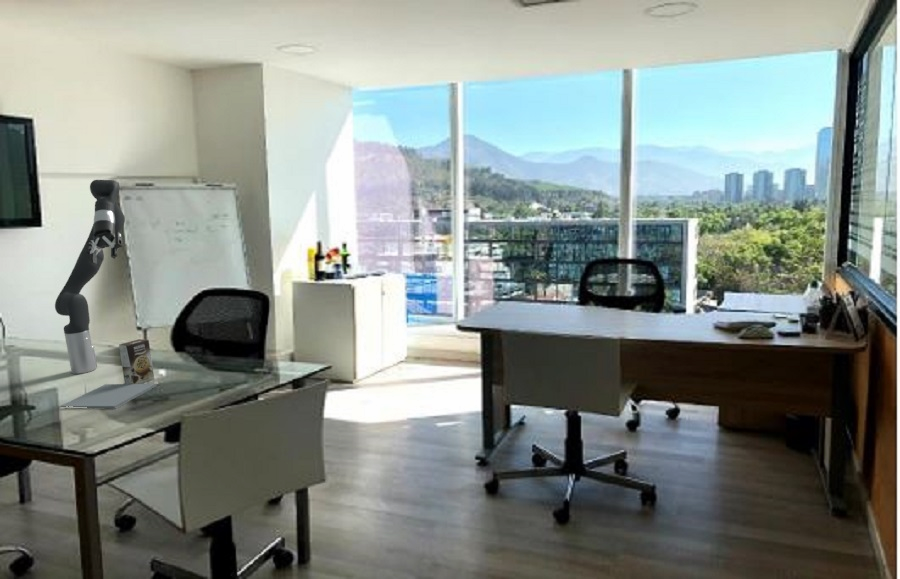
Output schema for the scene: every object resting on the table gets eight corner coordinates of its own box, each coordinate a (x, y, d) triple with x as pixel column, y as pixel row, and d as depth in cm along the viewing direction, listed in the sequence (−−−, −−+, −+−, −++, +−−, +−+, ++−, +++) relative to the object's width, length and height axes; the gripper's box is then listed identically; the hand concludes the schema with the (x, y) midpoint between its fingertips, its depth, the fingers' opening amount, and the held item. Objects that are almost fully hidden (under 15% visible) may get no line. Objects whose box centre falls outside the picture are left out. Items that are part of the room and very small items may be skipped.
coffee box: (134, 386, 262) (127, 345, 259) (124, 384, 265) (117, 344, 262) (155, 379, 269) (149, 339, 266) (145, 377, 273) (139, 338, 270)
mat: (105, 386, 264) (105, 384, 264) (156, 386, 260) (156, 383, 259) (59, 409, 241) (59, 406, 241) (115, 408, 236) (114, 406, 236)
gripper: (126, 223, 273) (126, 259, 266) (95, 232, 275) (94, 268, 269) (114, 215, 266) (113, 252, 260) (81, 224, 268) (80, 261, 262)
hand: (103, 260), depth 264 cm, fingers open, 8 cm apart
